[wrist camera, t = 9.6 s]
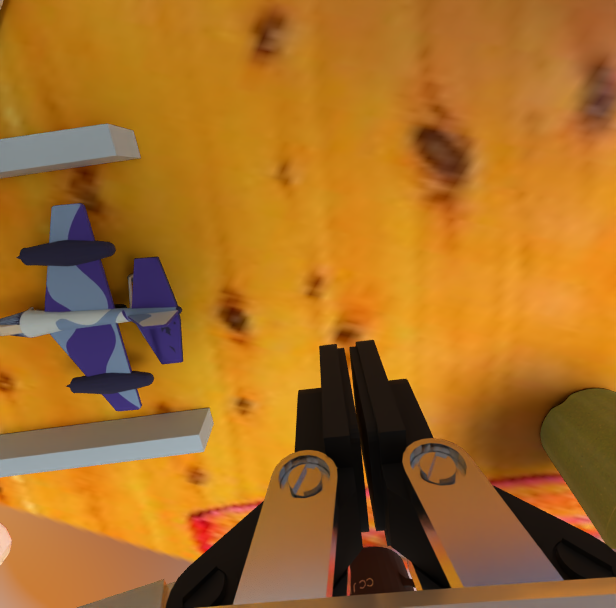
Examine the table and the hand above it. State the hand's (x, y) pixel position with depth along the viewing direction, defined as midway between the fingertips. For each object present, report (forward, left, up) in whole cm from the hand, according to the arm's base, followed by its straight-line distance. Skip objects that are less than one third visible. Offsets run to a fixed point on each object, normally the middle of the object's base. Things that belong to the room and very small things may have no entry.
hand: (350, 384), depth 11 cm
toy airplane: (+16, 0, -14) cm, 21 cm away
